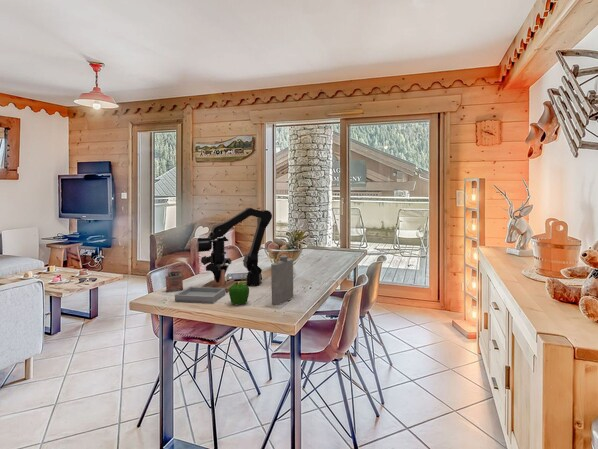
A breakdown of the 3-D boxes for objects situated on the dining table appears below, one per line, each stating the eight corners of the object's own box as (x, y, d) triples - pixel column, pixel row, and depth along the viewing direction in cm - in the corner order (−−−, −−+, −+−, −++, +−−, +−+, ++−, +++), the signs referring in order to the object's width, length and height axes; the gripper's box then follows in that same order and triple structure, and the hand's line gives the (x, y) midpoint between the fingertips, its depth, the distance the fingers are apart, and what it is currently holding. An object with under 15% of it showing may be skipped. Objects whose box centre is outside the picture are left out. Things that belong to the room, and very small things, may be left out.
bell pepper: (225, 303, 156) (224, 281, 155) (240, 299, 162) (239, 277, 161) (237, 308, 150) (237, 284, 149) (252, 303, 156) (252, 280, 156)
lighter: (166, 292, 173) (165, 272, 172) (165, 291, 176) (164, 271, 175) (183, 290, 177) (183, 270, 176) (182, 288, 180) (181, 269, 179)
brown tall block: (225, 287, 183) (224, 269, 182) (222, 289, 179) (221, 271, 178) (217, 286, 183) (217, 269, 182) (214, 289, 179) (213, 271, 178)
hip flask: (288, 294, 169) (288, 252, 167) (296, 295, 167) (295, 253, 165) (270, 304, 155) (269, 258, 153) (278, 305, 153) (278, 259, 151)
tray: (225, 294, 170) (225, 288, 170) (213, 303, 156) (213, 296, 156) (189, 292, 173) (189, 286, 173) (174, 301, 159) (174, 295, 159)
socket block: (237, 284, 187) (237, 281, 186) (227, 292, 173) (227, 288, 173) (212, 283, 189) (212, 280, 189) (200, 291, 175) (200, 287, 175)
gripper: (211, 247, 190) (212, 276, 191) (194, 253, 171) (196, 285, 173) (231, 247, 188) (232, 276, 189) (217, 253, 169) (218, 286, 171)
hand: (219, 281), depth 181 cm, fingers open, 5 cm apart
